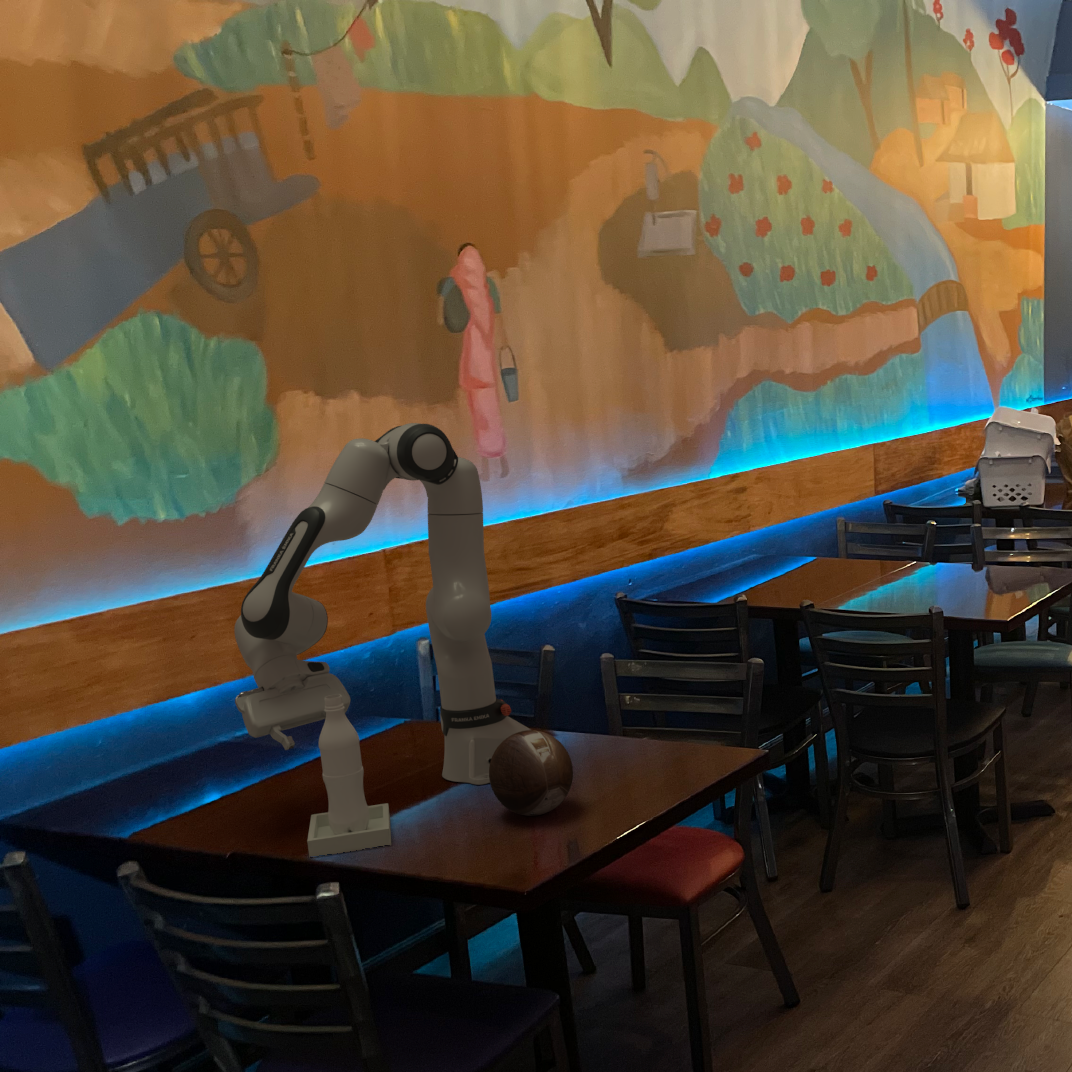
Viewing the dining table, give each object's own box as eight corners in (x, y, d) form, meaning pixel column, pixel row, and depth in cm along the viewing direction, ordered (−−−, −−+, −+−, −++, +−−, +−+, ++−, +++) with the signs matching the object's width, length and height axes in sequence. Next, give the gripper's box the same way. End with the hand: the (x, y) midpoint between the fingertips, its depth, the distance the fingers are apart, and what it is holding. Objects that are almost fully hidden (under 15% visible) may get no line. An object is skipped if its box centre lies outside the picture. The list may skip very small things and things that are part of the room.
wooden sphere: (537, 833, 206) (527, 748, 204) (476, 820, 216) (466, 739, 215) (594, 806, 217) (585, 724, 215) (533, 794, 227) (524, 716, 225)
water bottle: (363, 840, 210) (345, 700, 207) (324, 841, 212) (306, 703, 209) (376, 825, 217) (359, 690, 214) (339, 827, 218) (321, 692, 216)
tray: (390, 818, 222) (388, 803, 222) (391, 845, 208) (389, 828, 208) (313, 830, 221) (311, 814, 220) (309, 857, 207) (307, 841, 206)
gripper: (234, 684, 219) (265, 745, 212) (334, 660, 231) (366, 717, 224) (227, 705, 223) (257, 765, 216) (326, 680, 235) (357, 736, 228)
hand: (313, 740), depth 220 cm, fingers open, 8 cm apart
